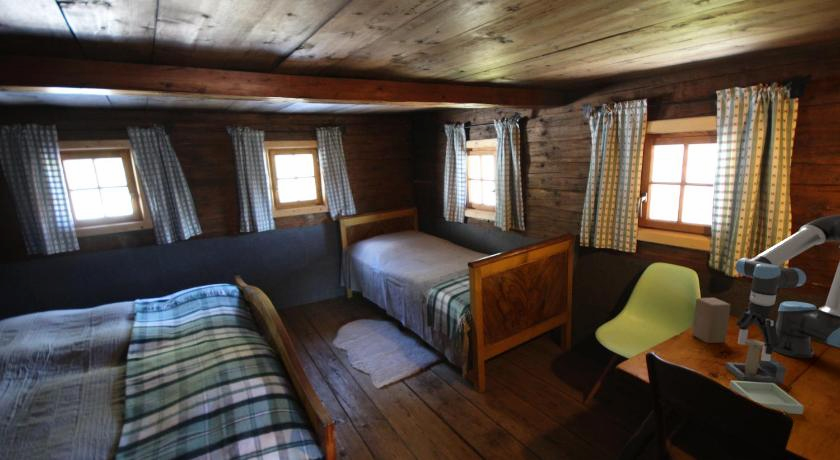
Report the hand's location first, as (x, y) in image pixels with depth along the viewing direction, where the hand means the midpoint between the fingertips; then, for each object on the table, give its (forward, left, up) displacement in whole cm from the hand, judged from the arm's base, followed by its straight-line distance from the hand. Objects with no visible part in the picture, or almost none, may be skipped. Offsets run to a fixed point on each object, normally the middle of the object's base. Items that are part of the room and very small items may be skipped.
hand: (753, 352), depth 154 cm
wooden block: (-2, -33, -11) cm, 35 cm away
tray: (+6, +17, -11) cm, 21 cm away
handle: (0, 0, -11) cm, 11 cm away
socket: (-2, 0, -11) cm, 11 cm away
